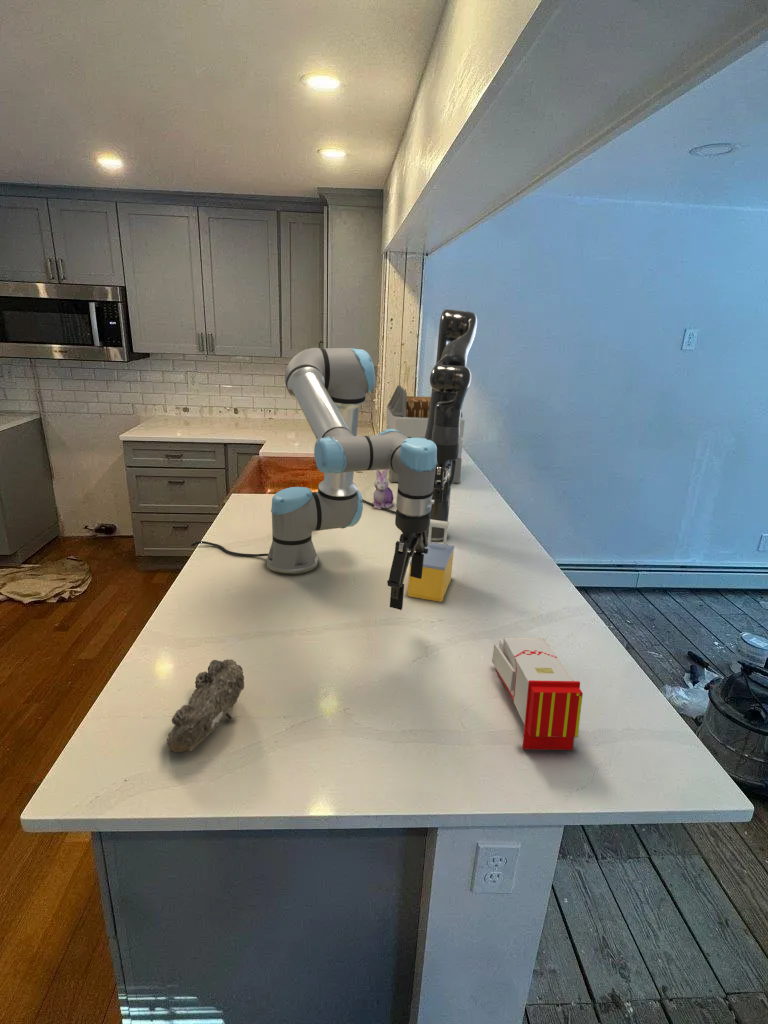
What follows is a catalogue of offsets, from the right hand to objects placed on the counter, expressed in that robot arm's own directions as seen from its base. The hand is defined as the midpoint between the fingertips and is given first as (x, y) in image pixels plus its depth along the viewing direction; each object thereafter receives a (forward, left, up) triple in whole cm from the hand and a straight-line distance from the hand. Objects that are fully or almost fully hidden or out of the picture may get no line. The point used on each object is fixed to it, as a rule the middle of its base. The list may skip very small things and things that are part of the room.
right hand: (440, 497), depth 159 cm
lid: (+2, -5, -16) cm, 17 cm away
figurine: (-49, +43, -25) cm, 70 cm away
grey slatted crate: (-64, +94, -25) cm, 117 cm away
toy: (+44, -36, -25) cm, 62 cm away
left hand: (+11, -33, -12) cm, 37 cm away
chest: (+2, -5, -25) cm, 26 cm away
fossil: (-3, -79, -25) cm, 83 cm away
